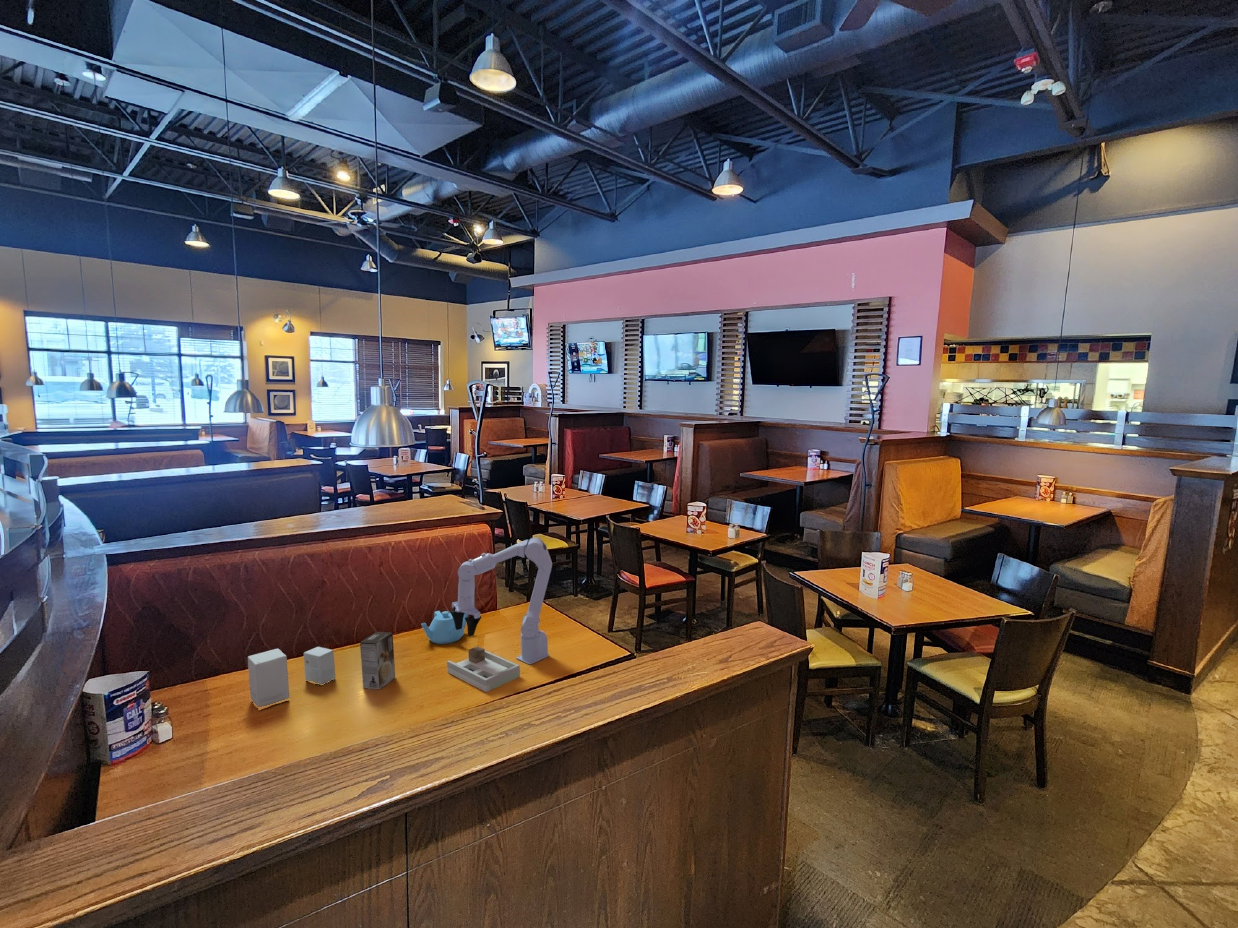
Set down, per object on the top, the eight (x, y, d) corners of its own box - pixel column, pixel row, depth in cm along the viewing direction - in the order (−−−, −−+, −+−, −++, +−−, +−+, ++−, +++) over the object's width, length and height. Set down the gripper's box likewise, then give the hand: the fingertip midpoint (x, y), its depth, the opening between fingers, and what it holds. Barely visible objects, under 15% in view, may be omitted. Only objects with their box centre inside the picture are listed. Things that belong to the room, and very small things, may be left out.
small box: (336, 679, 196) (334, 649, 195) (321, 686, 191) (319, 656, 190) (319, 675, 200) (317, 645, 198) (305, 682, 194) (303, 652, 193)
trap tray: (481, 658, 211) (480, 648, 211) (519, 676, 197) (519, 665, 196) (447, 672, 200) (447, 661, 200) (486, 692, 186) (485, 680, 186)
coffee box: (379, 675, 198) (376, 630, 197) (395, 677, 197) (393, 632, 196) (362, 688, 189) (359, 641, 188) (379, 690, 188) (377, 642, 187)
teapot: (471, 630, 238) (470, 605, 237) (460, 645, 223) (459, 618, 222) (434, 630, 238) (433, 605, 237) (421, 645, 224) (419, 618, 222)
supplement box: (290, 701, 182) (287, 655, 180) (258, 711, 176) (254, 664, 174) (282, 691, 188) (278, 647, 187) (250, 701, 182) (246, 655, 180)
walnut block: (478, 656, 208) (477, 645, 208) (484, 659, 206) (484, 648, 205) (468, 660, 205) (468, 649, 205) (475, 663, 203) (475, 652, 202)
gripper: (445, 592, 208) (443, 628, 209) (468, 603, 199) (467, 641, 200) (461, 588, 214) (460, 624, 215) (485, 598, 204) (484, 635, 206)
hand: (464, 632), depth 208 cm, fingers open, 7 cm apart
